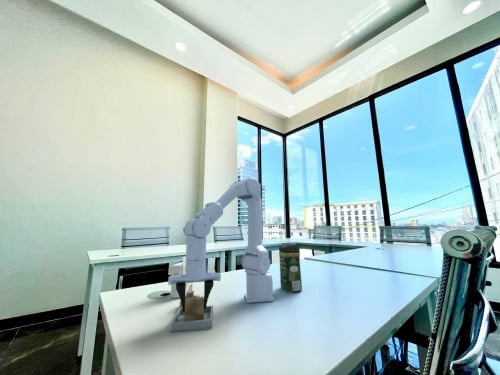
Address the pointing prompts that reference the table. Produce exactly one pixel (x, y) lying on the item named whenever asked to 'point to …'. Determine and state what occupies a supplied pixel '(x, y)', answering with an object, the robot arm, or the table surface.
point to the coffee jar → (290, 267)
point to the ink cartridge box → (179, 270)
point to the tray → (183, 325)
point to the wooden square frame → (185, 299)
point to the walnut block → (194, 309)
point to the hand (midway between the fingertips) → (194, 309)
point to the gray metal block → (190, 294)
